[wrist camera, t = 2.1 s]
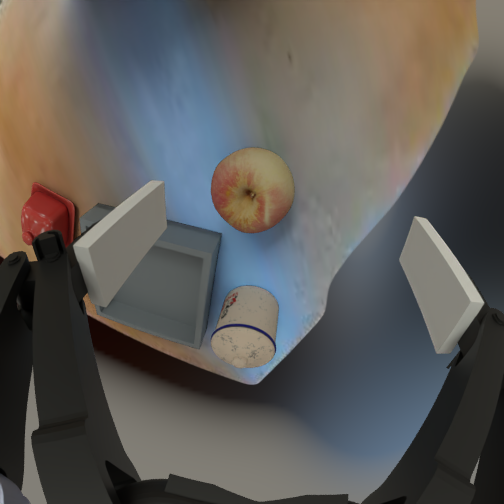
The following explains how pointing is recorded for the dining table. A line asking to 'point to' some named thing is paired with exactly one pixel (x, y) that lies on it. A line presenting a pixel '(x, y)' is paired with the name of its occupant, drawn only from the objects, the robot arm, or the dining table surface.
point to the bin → (167, 283)
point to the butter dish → (47, 215)
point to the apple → (252, 189)
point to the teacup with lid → (246, 327)
